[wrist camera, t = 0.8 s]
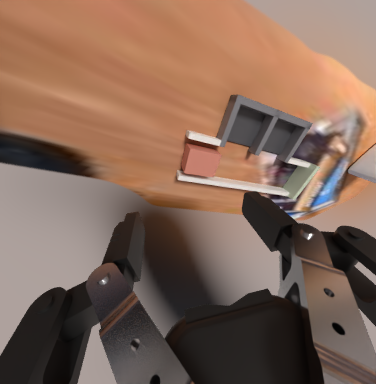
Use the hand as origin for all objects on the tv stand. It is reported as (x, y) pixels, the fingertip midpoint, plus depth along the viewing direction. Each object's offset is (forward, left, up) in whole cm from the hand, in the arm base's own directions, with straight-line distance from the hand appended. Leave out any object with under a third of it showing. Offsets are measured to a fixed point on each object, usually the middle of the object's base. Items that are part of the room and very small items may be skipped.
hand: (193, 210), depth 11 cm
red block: (+5, +2, -19) cm, 20 cm away
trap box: (+13, +12, -19) cm, 26 cm away
